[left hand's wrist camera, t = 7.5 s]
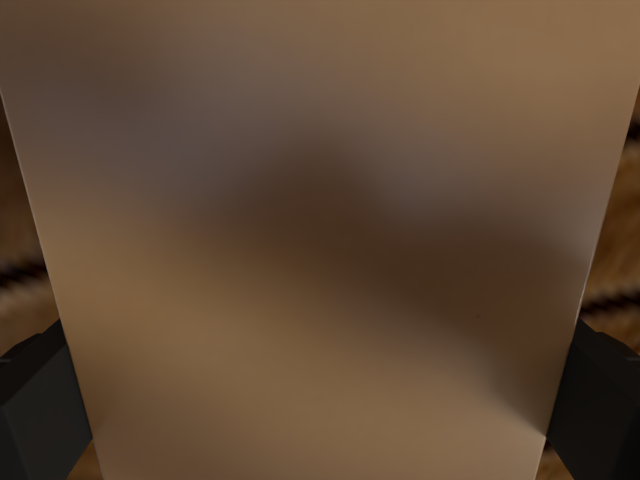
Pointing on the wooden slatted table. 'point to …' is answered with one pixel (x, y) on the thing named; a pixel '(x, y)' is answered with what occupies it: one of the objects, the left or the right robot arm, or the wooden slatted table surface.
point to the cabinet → (319, 223)
